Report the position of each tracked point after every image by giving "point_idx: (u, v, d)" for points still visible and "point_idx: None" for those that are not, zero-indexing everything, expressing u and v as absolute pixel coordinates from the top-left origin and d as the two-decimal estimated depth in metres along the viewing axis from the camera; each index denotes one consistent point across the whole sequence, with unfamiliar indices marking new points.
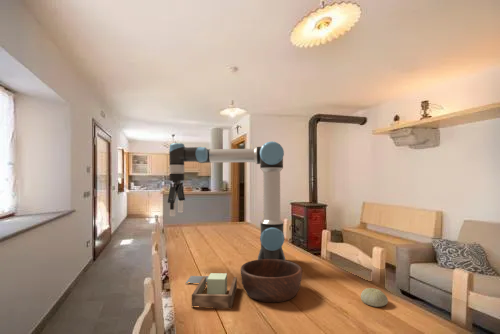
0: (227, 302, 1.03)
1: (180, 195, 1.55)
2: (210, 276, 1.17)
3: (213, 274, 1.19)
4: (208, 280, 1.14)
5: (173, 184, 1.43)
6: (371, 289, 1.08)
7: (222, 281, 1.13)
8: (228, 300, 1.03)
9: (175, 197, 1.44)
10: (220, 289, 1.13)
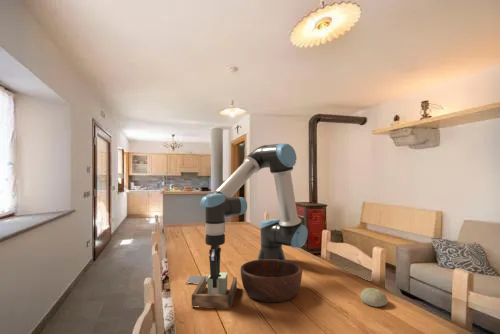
0: (227, 302, 1.03)
1: None
2: None
3: None
4: (208, 279, 1.15)
5: (213, 258, 1.06)
6: (371, 289, 1.08)
7: (222, 280, 1.14)
8: (228, 300, 1.03)
9: (217, 270, 1.11)
10: (220, 288, 1.14)
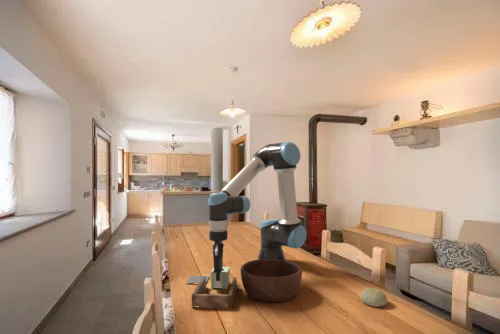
0: (227, 302, 1.03)
1: None
2: None
3: None
4: (212, 273, 1.22)
5: (217, 253, 1.13)
6: (371, 289, 1.08)
7: (225, 274, 1.22)
8: (228, 300, 1.03)
9: (220, 264, 1.18)
10: (223, 281, 1.22)
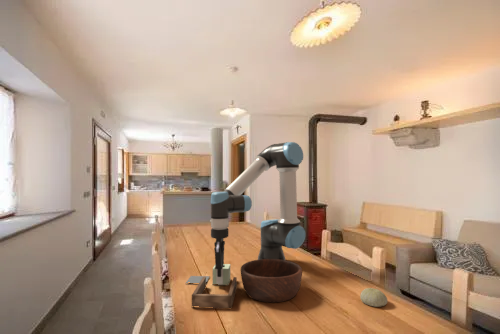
0: (227, 302, 1.03)
1: None
2: None
3: None
4: (213, 269, 1.26)
5: (218, 250, 1.18)
6: (371, 289, 1.08)
7: (226, 270, 1.26)
8: (228, 300, 1.03)
9: (222, 261, 1.22)
10: (224, 278, 1.26)
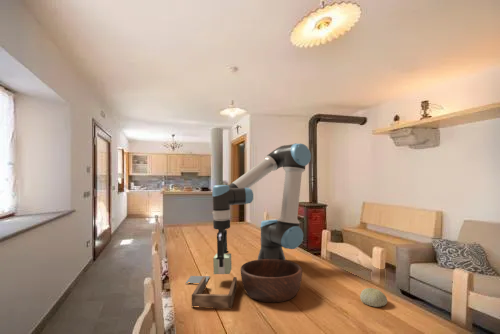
0: (227, 302, 1.03)
1: (224, 246, 1.32)
2: (216, 255, 1.29)
3: None
4: (214, 259, 1.26)
5: (220, 238, 1.23)
6: (370, 289, 1.08)
7: (227, 259, 1.26)
8: (228, 300, 1.03)
9: (223, 251, 1.26)
10: (225, 267, 1.26)
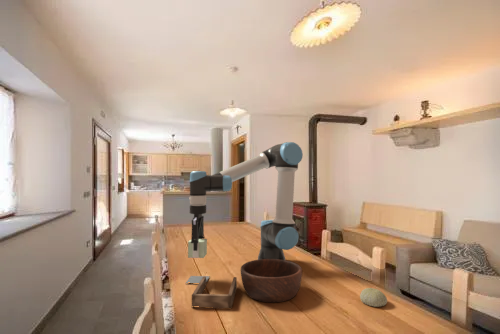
0: (227, 302, 1.03)
1: (200, 231, 1.35)
2: None
3: None
4: (189, 242, 1.28)
5: (195, 222, 1.25)
6: (370, 289, 1.08)
7: (201, 243, 1.28)
8: (228, 300, 1.03)
9: (198, 235, 1.28)
10: (199, 251, 1.28)
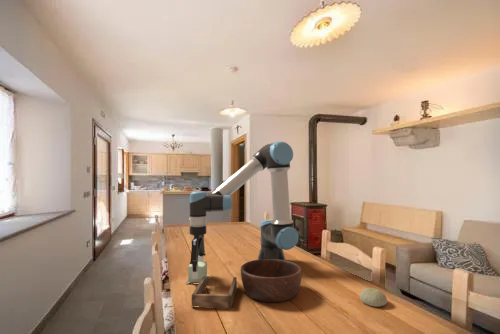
0: (227, 302, 1.03)
1: (200, 250, 1.36)
2: (191, 264, 1.31)
3: None
4: (189, 267, 1.28)
5: (195, 242, 1.25)
6: (370, 289, 1.08)
7: (201, 268, 1.28)
8: (228, 300, 1.03)
9: (198, 256, 1.27)
10: (199, 275, 1.28)
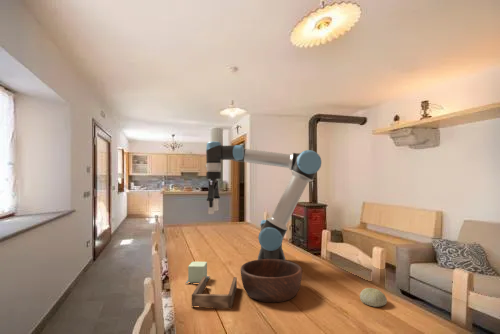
0: (227, 302, 1.03)
1: (216, 193, 1.55)
2: (191, 264, 1.31)
3: (194, 262, 1.34)
4: (189, 267, 1.28)
5: (212, 182, 1.44)
6: (370, 289, 1.08)
7: (201, 268, 1.28)
8: (228, 300, 1.03)
9: (213, 195, 1.44)
10: (199, 275, 1.28)
